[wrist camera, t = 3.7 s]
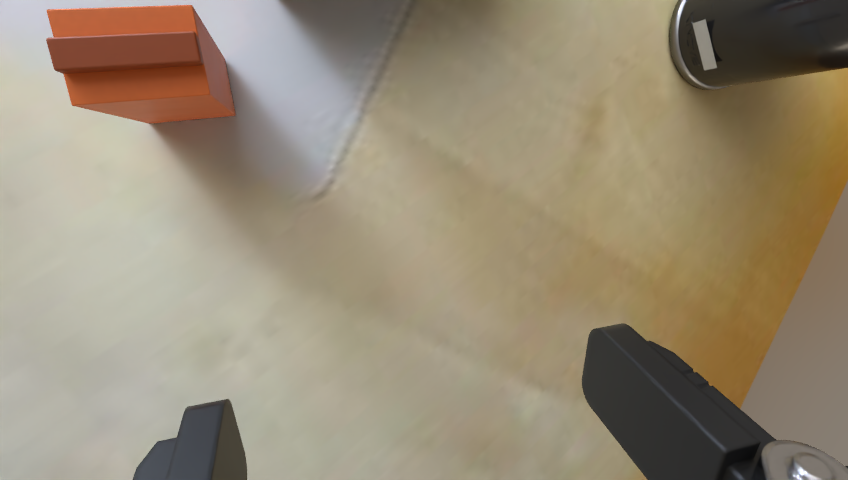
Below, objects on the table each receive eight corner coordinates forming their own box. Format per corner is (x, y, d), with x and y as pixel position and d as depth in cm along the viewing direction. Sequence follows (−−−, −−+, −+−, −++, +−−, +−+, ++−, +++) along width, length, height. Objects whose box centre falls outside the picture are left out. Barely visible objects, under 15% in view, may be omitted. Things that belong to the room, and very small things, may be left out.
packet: (224, 58, 30) (188, -2, 18) (235, 115, 30) (207, 92, 19) (134, 63, 28) (34, 2, 17) (148, 123, 29) (62, 103, 18)
